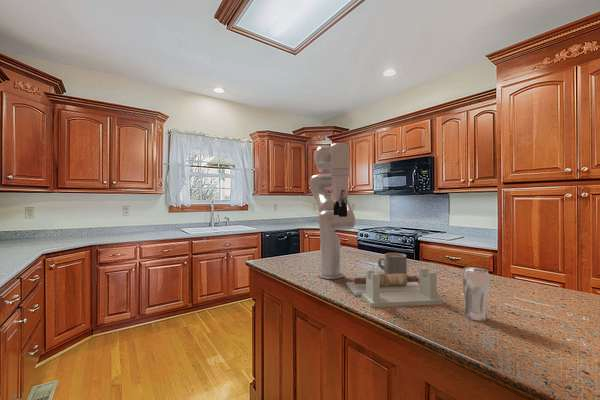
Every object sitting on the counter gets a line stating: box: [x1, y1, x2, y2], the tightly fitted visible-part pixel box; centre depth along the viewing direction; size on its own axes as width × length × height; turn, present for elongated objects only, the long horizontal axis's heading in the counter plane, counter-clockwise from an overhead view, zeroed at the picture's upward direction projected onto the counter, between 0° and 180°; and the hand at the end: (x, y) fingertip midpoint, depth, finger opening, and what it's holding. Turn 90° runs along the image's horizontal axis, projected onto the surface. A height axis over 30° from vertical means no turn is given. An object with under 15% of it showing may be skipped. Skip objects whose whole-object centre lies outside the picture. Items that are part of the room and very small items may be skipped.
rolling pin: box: [353, 273, 419, 286], centre depth 114 cm, size 26×5×5 cm, turn 95°
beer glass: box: [462, 266, 490, 322], centre depth 87 cm, size 7×7×15 cm
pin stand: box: [361, 267, 443, 308], centre depth 101 cm, size 10×26×11 cm, turn 95°
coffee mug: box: [377, 252, 408, 276], centre depth 134 cm, size 13×10×10 cm
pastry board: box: [345, 281, 419, 297], centre depth 114 cm, size 13×30×1 cm, turn 95°
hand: (340, 215), depth 113 cm, fingers open, 9 cm apart
